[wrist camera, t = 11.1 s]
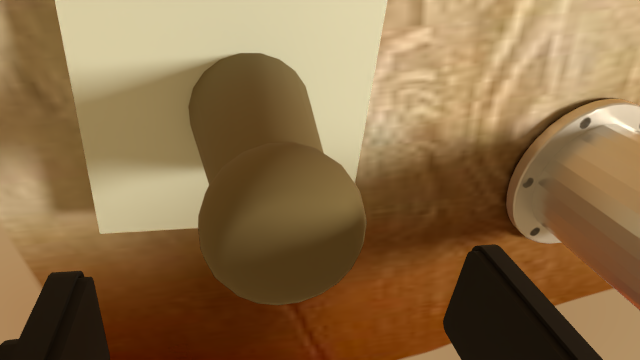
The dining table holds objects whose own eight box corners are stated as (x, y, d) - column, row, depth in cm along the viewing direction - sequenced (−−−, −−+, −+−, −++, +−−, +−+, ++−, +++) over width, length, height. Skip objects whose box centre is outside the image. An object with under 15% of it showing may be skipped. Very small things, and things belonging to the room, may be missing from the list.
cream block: (370, -37, 21) (393, -32, 19) (335, 193, 28) (348, 219, 26) (62, -73, 18) (40, -73, 15) (109, 202, 25) (99, 233, 22)
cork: (315, 154, 23) (394, 306, 14) (204, 176, 22) (210, 356, 13) (303, 43, 20) (397, 146, 10) (172, 63, 19) (150, 197, 10)
